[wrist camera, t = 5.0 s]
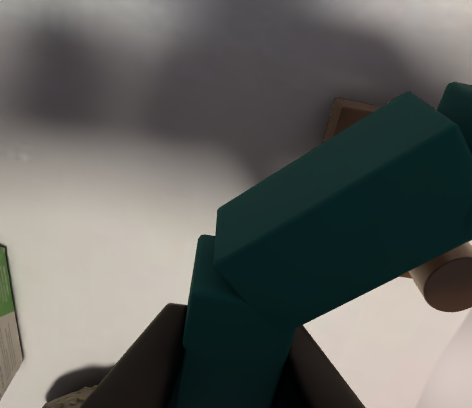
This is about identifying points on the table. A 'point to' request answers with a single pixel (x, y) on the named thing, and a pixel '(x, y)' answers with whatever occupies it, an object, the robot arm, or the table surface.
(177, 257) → the table surface
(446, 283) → the peg stand
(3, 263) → the ink box
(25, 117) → the table surface
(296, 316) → the ring
